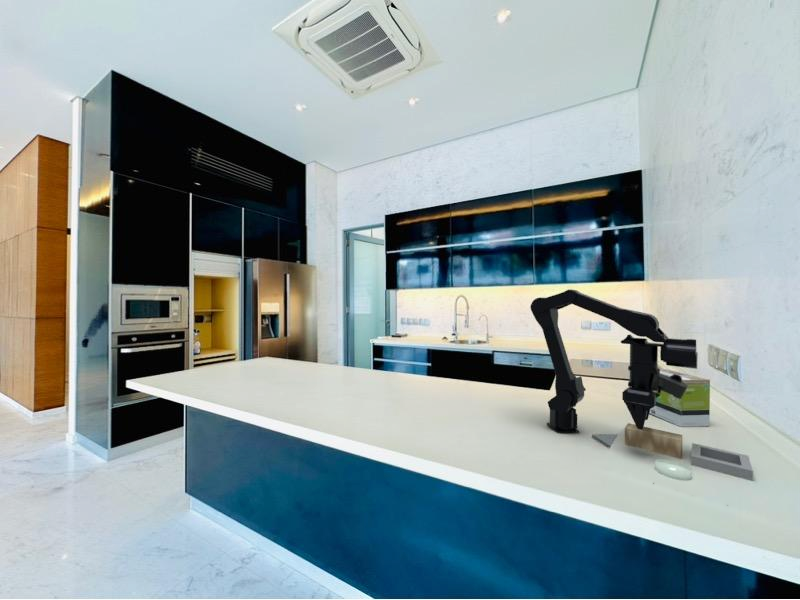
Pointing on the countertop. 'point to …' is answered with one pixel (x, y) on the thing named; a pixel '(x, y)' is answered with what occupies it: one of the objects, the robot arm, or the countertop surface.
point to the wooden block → (654, 440)
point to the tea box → (685, 402)
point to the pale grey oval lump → (673, 469)
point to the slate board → (605, 438)
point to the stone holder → (722, 461)
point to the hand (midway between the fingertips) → (642, 424)
